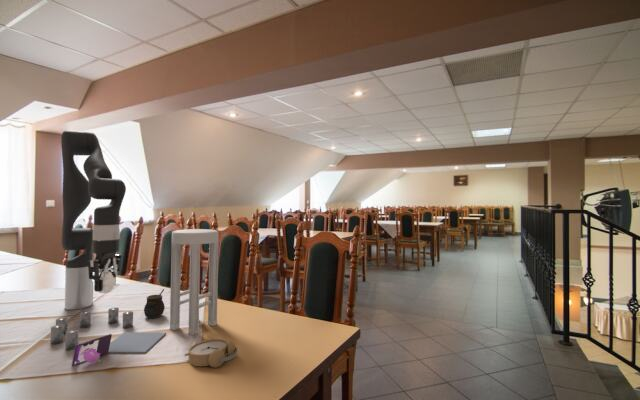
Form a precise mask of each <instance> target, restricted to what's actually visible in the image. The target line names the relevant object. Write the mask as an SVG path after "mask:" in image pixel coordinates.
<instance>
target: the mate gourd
mask: <svg viewBox="0 0 640 400" xmlns="http://www.w3.org/2000/svg"><path fill="white" fill-rule="evenodd" d="M164 291H165V288H163V289H162V290H161V291H160V293H158V294H151V295H147V296H146V303H145V305H144V307H143V308H144V309H143V313H144V316H145V317H146V318H147V319H158V318H160V317H161V316H163V314H164V312H165V307H166V306H165V303H164V301H163V295H162V294H163V293H164Z"/></svg>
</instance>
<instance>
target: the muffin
mask: <svg viewBox="0 0 640 400" xmlns="http://www.w3.org/2000/svg"><path fill="white" fill-rule="evenodd" d="M99 276H100V273H99ZM116 278H117V277H116ZM116 278H115V277H113V275H112V273H111V272H109V271H106V273H104V276H103V279H102V280H103V290H102V291H100V292H99V294H108V293H110V292H112V290H113V289H114V287H115V286H116V285H115V283H116V284H117V279H116ZM114 285H115V286H114Z"/></svg>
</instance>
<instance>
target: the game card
mask: <svg viewBox="0 0 640 400" xmlns="http://www.w3.org/2000/svg"><path fill="white" fill-rule="evenodd" d="M112 336H113V335H112V334H111V333H109V334H106V335H103V336H99V337H97V338H94V339H91V340H88V341H84V342H82V343H81V342H80V343H78V344H77V345H76V346H75V349H74V350H73V351H74V352H73V358H72V363H71V366H72V367H75V366H78V365H80V364H83V363H86V362H88V363H94V362H98V363H99V364H101V363H102V359H100V357H102V356H105V355H106V356H107V355H108V354H109V353H108V351H109V346H110V342H112ZM96 341H98V343H97V347H96V348H92V347H91V348H90V347H88V348H86V349H84V350H83V351H82V352H81V349H82V347H83V348H85V347H87V346H88V345H90V346H91V345H93V344H94V343H95V342H96ZM80 352H81V353H80ZM79 355H80V356H83V359H84V360H83V361H80V360H79ZM75 362H76V363H75Z"/></svg>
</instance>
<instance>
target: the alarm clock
mask: <svg viewBox="0 0 640 400" xmlns="http://www.w3.org/2000/svg"><path fill="white" fill-rule="evenodd" d="M236 346H237V345H236V344H235V342H234V341H233V340H232V341H231V340H229V341H228V340H226V339H221V338H214V339H213V338H211V339H206V340H203V341H200V342H196V343H194V344H193V345H191V346H190V347H189V348H188V350H187V351H188V352H187V353H185V354H184V357H188V363H189V365H190V366H194V367H208V366H210V367H211V368H215V369H216V368H219V367H221V366H222V365H223V364H224V363H225V362H226V361H231V360H233V359H235V358H237V356H238V347H236Z"/></svg>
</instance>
